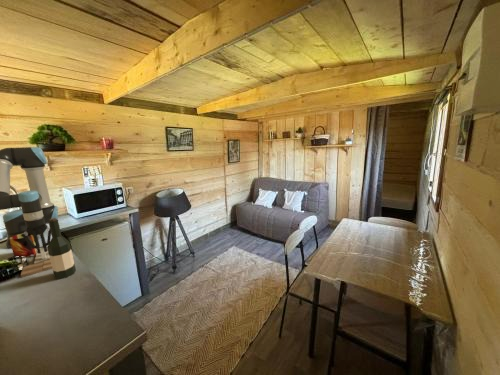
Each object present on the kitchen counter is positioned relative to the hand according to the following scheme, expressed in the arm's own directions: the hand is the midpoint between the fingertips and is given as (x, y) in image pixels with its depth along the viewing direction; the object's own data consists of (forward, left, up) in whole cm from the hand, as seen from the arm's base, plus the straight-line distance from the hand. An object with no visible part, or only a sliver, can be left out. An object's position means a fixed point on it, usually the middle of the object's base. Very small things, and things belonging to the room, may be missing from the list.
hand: (44, 257), depth 121 cm
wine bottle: (+26, +9, -2) cm, 28 cm away
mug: (-19, -8, -2) cm, 20 cm away
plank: (-6, 0, -2) cm, 7 cm away
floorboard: (+9, 0, -2) cm, 9 cm away
